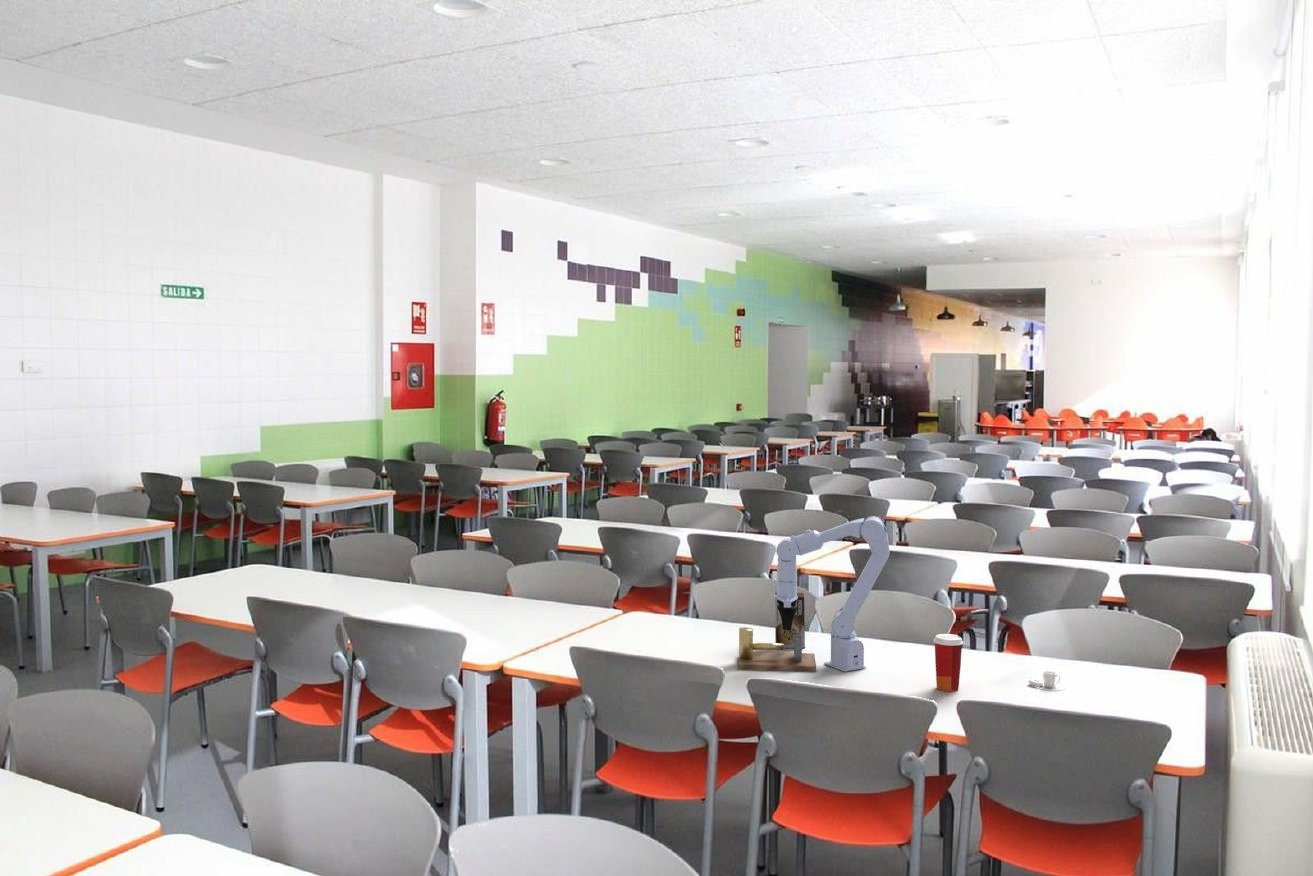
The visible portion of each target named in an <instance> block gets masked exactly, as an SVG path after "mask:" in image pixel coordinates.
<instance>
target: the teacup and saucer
mask: <svg viewBox="0 0 1313 876" xmlns="http://www.w3.org/2000/svg"><path fill="white" fill-rule="evenodd" d="M1042 677H1043V679H1042V680H1043V681H1041V680H1039V679H1037V678H1029V679H1028V683H1029V685H1031V686H1033V687H1034V688H1036V689H1039V690H1042V691H1049V692H1050V691H1051V692H1059V691H1063V690H1065V689H1066V687H1065V686H1064V684H1060V681H1061V676H1060V675H1058V674H1056V672H1055V671H1048V670H1045V671H1043V672H1042ZM1056 677H1058V680H1057V682H1056ZM1043 685H1044V687H1046V688H1043V687H1042V686H1043ZM1055 686H1058V687H1060V688H1058V689H1052V688H1054V687H1055ZM1061 687H1062V688H1061ZM1049 688H1051V689H1049Z"/></svg>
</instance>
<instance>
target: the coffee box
mask: <svg viewBox="0 0 1313 876" xmlns="http://www.w3.org/2000/svg"><path fill="white" fill-rule="evenodd" d="M774 595H777V592H775V593H774ZM797 596H798V599H796V603H795V605H794V607H797V610H796V612H795V614H794V617H793V622H792V627H791V630H783V626H782V619H781V615H780V612H779V610H778V608H777V605H779V604H778V602H777V598H774V617H775V618H774V620H775V621H774V622H775V623H774V624H775V628H774V629H775V631H774V633H775V634H774V635H775V637H774V638H775V639H774V640H775V642H774V643H782V644H784V649H789V648H790V649H794V632H795V633H801V637H802V649H805V648H806V643H805V642H806V635H805V634H806V631H805V629H806V628H805V624H806V622H805V619H806V618H805V617H806V616H805V615H806V614H805V611H806V610H805V609H806V608H805V604H806V603H805V594H804V592H797Z"/></svg>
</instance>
